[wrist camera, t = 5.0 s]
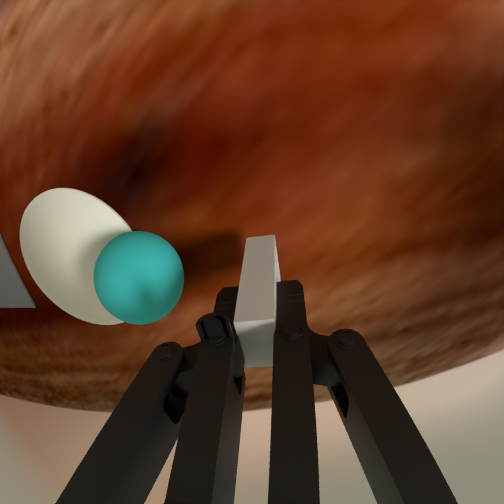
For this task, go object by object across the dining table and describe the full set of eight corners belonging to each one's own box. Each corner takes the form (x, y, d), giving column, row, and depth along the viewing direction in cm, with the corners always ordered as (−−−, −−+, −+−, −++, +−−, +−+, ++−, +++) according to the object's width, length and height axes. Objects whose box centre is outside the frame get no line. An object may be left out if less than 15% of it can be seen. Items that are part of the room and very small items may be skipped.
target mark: (117, 169, 17) (116, 170, 17) (171, 322, 23) (170, 323, 23) (2, 206, 19) (1, 207, 19) (59, 322, 25) (58, 324, 24)
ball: (64, 253, 16) (132, 212, 20) (100, 324, 19) (155, 280, 22) (110, 273, 13) (189, 219, 17) (151, 357, 16) (212, 299, 19)
